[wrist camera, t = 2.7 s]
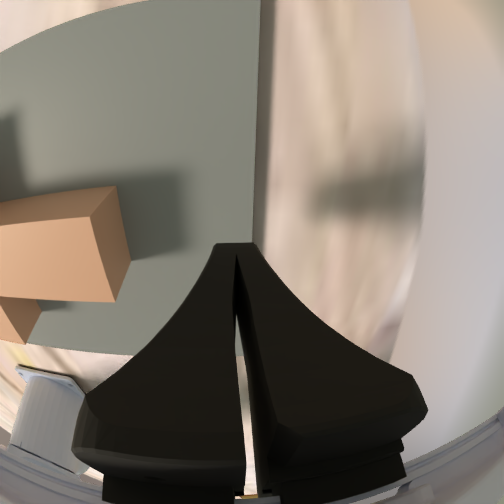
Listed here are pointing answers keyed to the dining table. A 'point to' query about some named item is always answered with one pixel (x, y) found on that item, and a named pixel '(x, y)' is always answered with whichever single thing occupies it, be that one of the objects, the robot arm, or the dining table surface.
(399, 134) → the dining table surface
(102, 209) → the t block
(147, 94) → the board
